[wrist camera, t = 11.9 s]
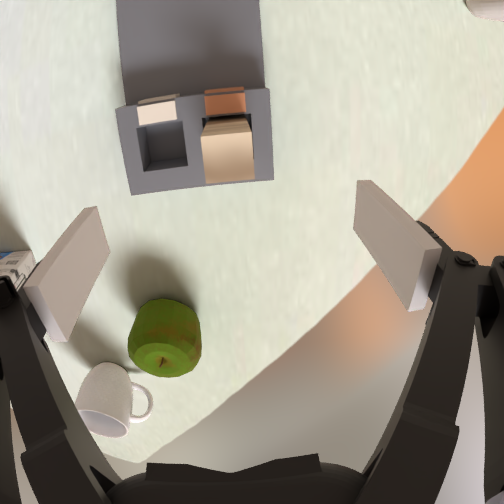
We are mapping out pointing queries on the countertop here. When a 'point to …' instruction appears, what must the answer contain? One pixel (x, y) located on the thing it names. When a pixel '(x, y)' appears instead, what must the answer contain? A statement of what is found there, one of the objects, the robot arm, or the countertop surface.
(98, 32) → the countertop surface
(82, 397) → the mug
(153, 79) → the socket station
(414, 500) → the robot arm
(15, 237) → the countertop surface
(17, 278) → the ink box
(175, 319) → the apple
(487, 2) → the soap bottle
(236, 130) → the birch plug
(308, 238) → the countertop surface
